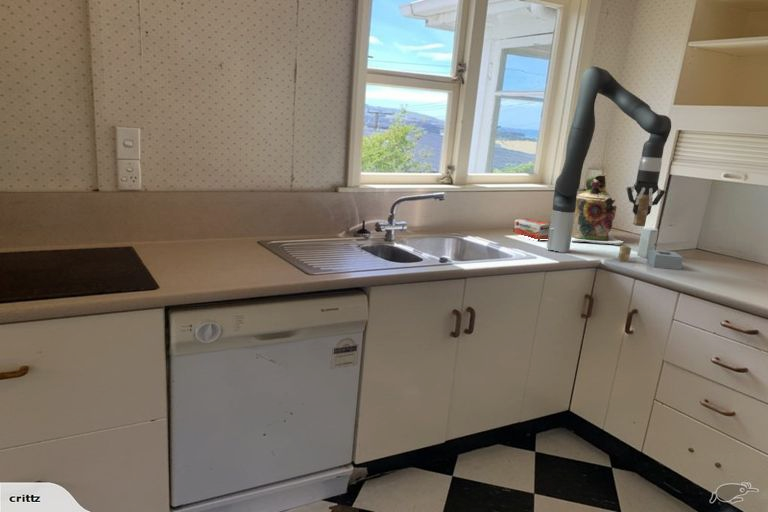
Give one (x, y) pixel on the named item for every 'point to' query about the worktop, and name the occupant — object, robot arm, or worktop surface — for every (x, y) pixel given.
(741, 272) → the worktop surface
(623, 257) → the short pin
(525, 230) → the medicine box
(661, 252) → the socket block
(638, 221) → the long pin
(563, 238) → the robot arm
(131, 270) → the worktop surface
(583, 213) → the cookie jar
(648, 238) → the skincare box
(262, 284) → the worktop surface
